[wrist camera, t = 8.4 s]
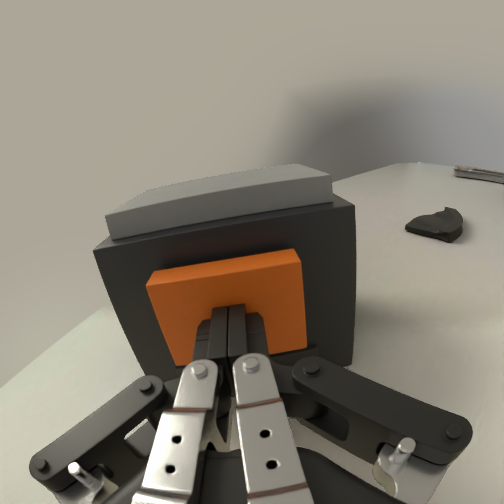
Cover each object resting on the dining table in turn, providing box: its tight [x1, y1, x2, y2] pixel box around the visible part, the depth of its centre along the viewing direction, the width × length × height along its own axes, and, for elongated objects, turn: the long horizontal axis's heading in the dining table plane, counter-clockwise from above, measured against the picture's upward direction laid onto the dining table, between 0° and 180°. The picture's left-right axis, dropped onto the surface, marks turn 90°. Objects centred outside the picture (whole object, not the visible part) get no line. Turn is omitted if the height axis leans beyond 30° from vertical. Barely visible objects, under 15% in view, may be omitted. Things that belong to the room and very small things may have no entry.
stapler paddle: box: [146, 248, 307, 366], centre depth 14 cm, size 2×7×5 cm, turn 93°
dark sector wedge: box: [405, 207, 463, 243], centre depth 37 cm, size 8×14×2 cm, turn 120°
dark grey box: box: [93, 164, 356, 382], centre depth 20 cm, size 10×14×12 cm
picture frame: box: [453, 166, 504, 184], centre depth 69 cm, size 13×25×3 cm, turn 44°
